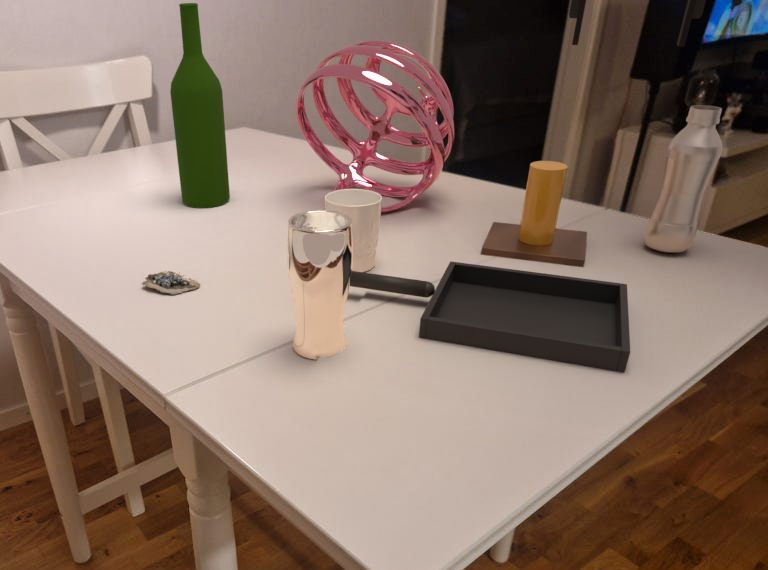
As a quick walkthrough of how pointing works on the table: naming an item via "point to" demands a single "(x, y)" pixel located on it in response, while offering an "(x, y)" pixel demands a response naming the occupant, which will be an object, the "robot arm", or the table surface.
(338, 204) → the white cup
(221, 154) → the wine bottle
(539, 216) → the canister
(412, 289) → the pan handle
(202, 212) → the table surface
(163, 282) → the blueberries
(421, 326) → the pan
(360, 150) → the spiral basket
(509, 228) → the board
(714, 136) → the plastic bottle
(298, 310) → the beer glass
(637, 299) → the table surface
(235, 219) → the table surface
